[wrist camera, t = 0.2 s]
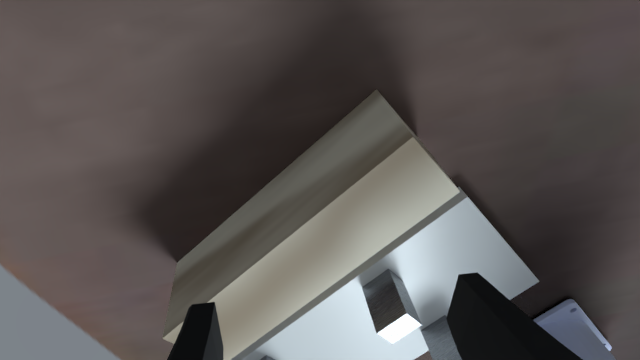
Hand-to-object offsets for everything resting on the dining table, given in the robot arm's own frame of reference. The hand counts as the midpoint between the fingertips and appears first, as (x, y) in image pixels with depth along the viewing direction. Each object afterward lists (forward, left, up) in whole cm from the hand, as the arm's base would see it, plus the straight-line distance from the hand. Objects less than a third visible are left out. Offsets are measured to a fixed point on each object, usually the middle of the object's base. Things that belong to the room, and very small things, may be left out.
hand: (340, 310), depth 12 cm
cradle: (-13, +7, -9) cm, 17 cm away
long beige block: (-2, +2, -10) cm, 10 cm away
